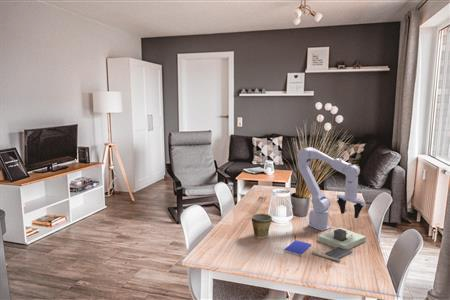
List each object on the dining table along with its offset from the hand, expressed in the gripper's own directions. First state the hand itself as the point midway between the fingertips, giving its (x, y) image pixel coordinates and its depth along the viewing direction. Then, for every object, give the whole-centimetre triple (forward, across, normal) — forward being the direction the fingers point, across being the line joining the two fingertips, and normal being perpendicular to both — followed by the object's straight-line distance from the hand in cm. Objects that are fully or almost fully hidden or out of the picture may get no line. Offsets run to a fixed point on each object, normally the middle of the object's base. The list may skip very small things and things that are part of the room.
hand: (349, 215), depth 163 cm
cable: (+10, +9, -31) cm, 34 cm away
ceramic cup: (+10, -25, -37) cm, 46 cm away
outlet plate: (+10, +3, -10) cm, 14 cm away
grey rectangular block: (+10, +4, -13) cm, 17 cm away
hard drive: (+11, -4, -34) cm, 36 cm away
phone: (+10, +10, -23) cm, 27 cm away
